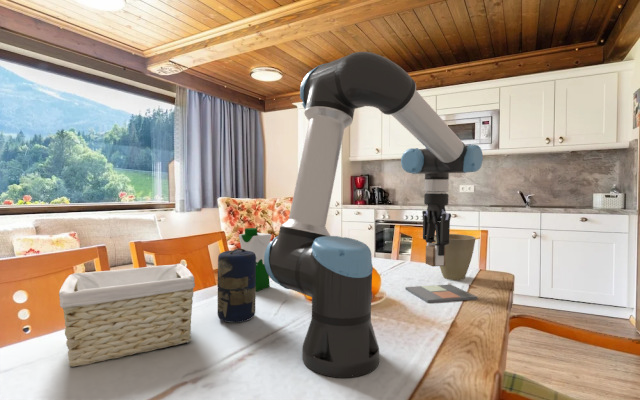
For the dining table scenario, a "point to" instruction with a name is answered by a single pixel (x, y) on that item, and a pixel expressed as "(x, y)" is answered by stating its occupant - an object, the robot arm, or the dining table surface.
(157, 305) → the storage basket
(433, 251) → the brown wooden block
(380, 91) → the robot arm
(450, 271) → the plant pot
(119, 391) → the dining table surface
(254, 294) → the canister
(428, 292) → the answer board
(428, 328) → the dining table surface
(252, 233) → the milk carton
